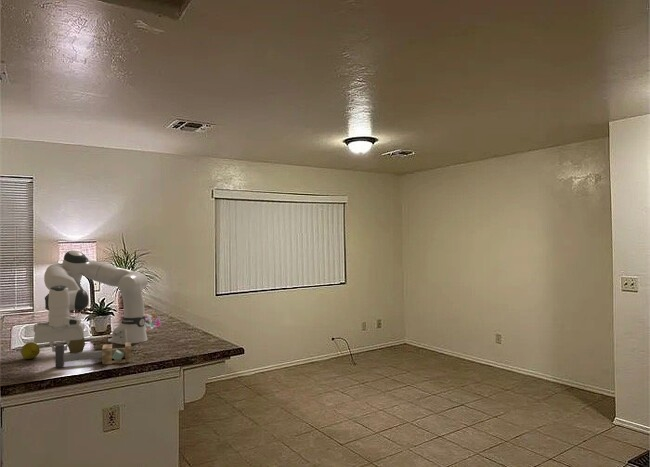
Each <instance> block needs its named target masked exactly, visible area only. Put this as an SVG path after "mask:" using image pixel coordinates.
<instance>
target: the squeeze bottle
mask: <svg viewBox="0 0 650 467" xmlns="http://www.w3.org/2000/svg"><path fill="white" fill-rule="evenodd" d="M85 345H86V342H85V337H84V338H83V339H82V340H71V341H70V343H69V344H68V346H67V349H68V350H69V352H70V353H80V352H84V349H85ZM70 353H69V354H70Z"/></svg>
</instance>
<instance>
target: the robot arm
mask: <svg viewBox="0 0 650 467" xmlns="http://www.w3.org/2000/svg"><path fill="white" fill-rule="evenodd" d="M83 276H84V277H85V278H87V279H89V280H92V281H95V282H98V283H100V284H104V285H107V286H109V287H110V286H111V287H115V288H116V287H118V290H119V291H120V294H121V298H122V303H123V305H122V306H123V317H121V318H120V319H119V320H120V321H121V323H120V324H119V325H118V326H117V327H116V328H115V329H113V330H112V334H111V338H108V339H107V343H111V344H118V345H125V343H128V342H131V344H138V343H139V344H140V343H143V342H147V341H148V340H149V339H148V336H147V330H146V328H145V315H146V314H145V301H144V299H143V296H142V290H145V288H146V286H147V285H148V282H149V279H148V276H146V275H145V274H144V273H141V272H138V271H135V270H132V269H126V268H121V267H117V266H113V265H111V264H108V263H105V262H100V261H95V260H90V259H89V258H88V257H87V256H86V255H85V254H84V253H83V252H81V251H79V250H69V251H67V252H66V253H65V254H64V256H63V260H62V263H61V264H60V263H53V264H50V265H49V266H48V267H47V268H46V270H45V272H44V276H43V280H44V285H45V287H46V288H47V289H48V290H49V292H48V293H47V294H46V296H44V301H45V302H44V303H45V307H44V309H45V310H47V311H48V321H43V322H37V323H36V324H34V325H33V332H34V336H33V338H34V339H33V343H36V344H37V345H38V344H45V343H46V344H47V343H49V346H50V347H51V348H52V349H51V350H52V353H53V352H55V346H54V343H58V342H65V345H64V347H63V351H64V352H65V351H68V344H69V343H70V341H71V340H82V339H83V338H84V339H85V330H84V329H85V328H84V326H83V324H82V323H81V322H82V319H81V318H80V317H77V316H71V311H83V310H85V309H86V308H87V307H88V305H89V302H90V298H89V294H88V292H87V291H86V290H84V288H83V287H82V285H81V282H82V281H81V280H82V279H83V278H82V277H83ZM144 314H145V315H144Z"/></svg>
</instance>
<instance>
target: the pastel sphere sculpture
mask: <svg viewBox="0 0 650 467" xmlns="http://www.w3.org/2000/svg"><path fill="white" fill-rule="evenodd" d="M144 315H145V328H146V331H151V330H154V329H157V328H159V327H161V326H162V321H161V316H158V314H155V312H151V313H150V314H148V313H144Z"/></svg>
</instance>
